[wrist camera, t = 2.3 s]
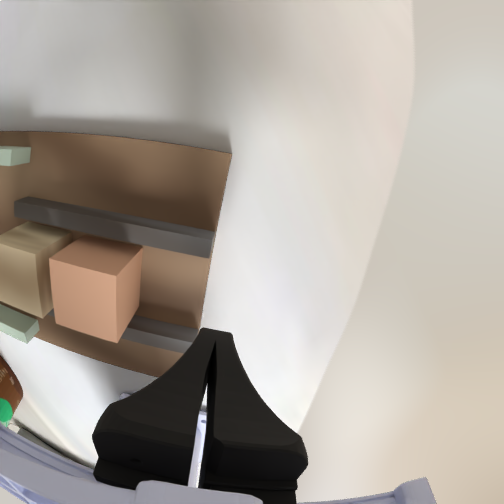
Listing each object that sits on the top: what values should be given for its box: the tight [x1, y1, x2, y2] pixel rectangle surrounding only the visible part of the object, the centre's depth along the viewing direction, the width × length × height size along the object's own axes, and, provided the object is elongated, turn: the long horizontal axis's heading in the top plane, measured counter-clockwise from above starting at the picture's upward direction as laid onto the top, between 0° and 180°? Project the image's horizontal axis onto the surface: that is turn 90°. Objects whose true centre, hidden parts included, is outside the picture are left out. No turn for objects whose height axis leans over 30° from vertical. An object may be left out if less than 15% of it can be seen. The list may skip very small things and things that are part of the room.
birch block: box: [0, 222, 72, 318], centre depth 15 cm, size 4×4×4 cm
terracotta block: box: [49, 235, 143, 343], centre depth 15 cm, size 4×4×4 cm
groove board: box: [0, 131, 232, 377], centre depth 16 cm, size 16×24×2 cm, turn 78°
